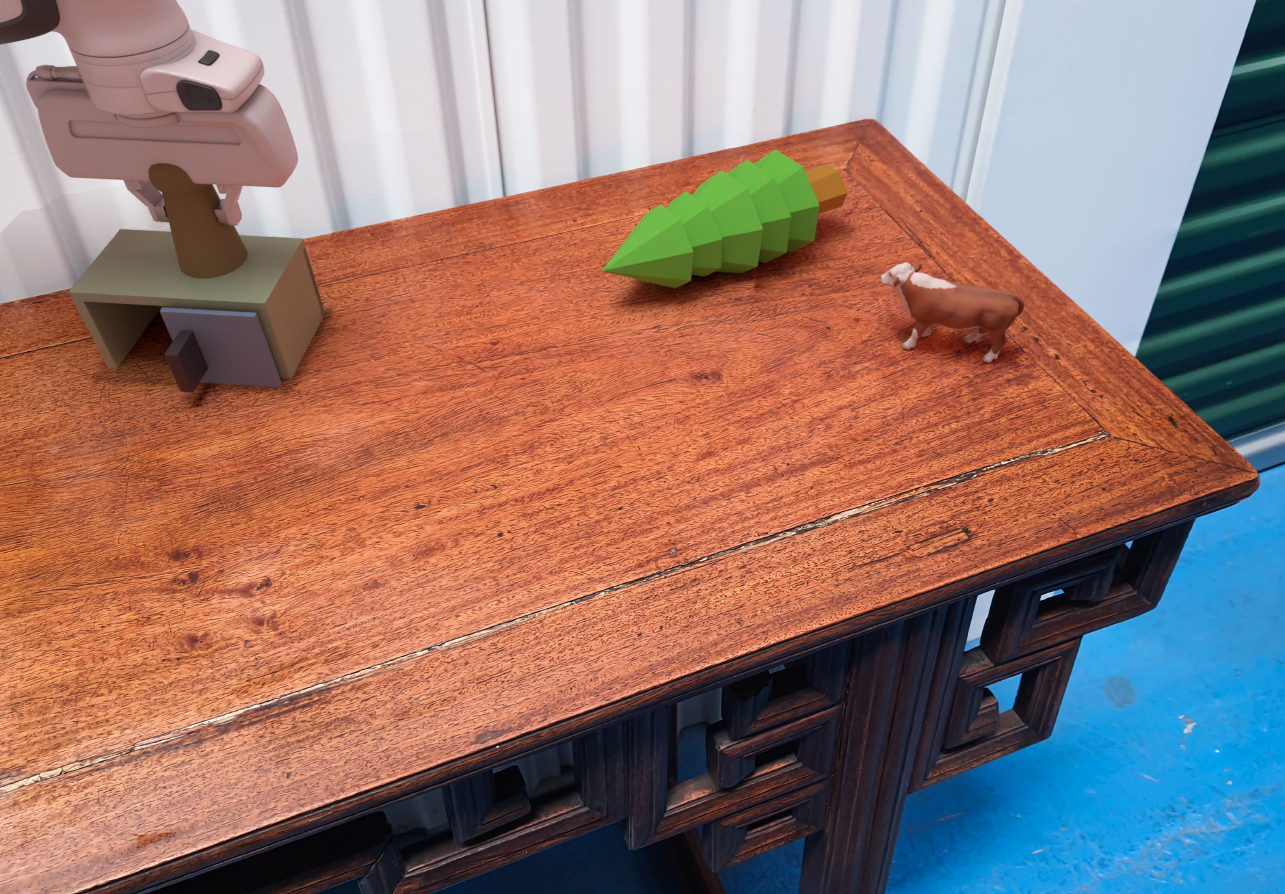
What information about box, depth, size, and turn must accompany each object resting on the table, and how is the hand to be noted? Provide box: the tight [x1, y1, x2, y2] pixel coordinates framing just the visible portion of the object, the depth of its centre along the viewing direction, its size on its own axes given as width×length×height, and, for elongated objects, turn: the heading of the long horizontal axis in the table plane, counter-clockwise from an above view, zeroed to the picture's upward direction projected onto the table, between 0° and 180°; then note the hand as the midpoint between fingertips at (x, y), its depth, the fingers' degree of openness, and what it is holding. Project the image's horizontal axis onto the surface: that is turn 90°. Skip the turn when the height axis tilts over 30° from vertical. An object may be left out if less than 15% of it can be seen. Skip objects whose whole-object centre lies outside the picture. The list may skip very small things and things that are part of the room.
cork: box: [148, 163, 248, 279], centre depth 87 cm, size 6×6×11 cm
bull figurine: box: [879, 261, 1025, 364], centre depth 95 cm, size 4×13×8 cm, turn 70°
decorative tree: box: [601, 149, 848, 289], centre depth 103 cm, size 11×12×30 cm
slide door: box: [159, 307, 283, 394], centre depth 88 cm, size 9×4×8 cm, turn 84°
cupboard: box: [68, 228, 326, 380], centre depth 94 cm, size 18×12×10 cm, turn 84°
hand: (199, 220), depth 88 cm, fingers closed on cork, 4 cm apart
